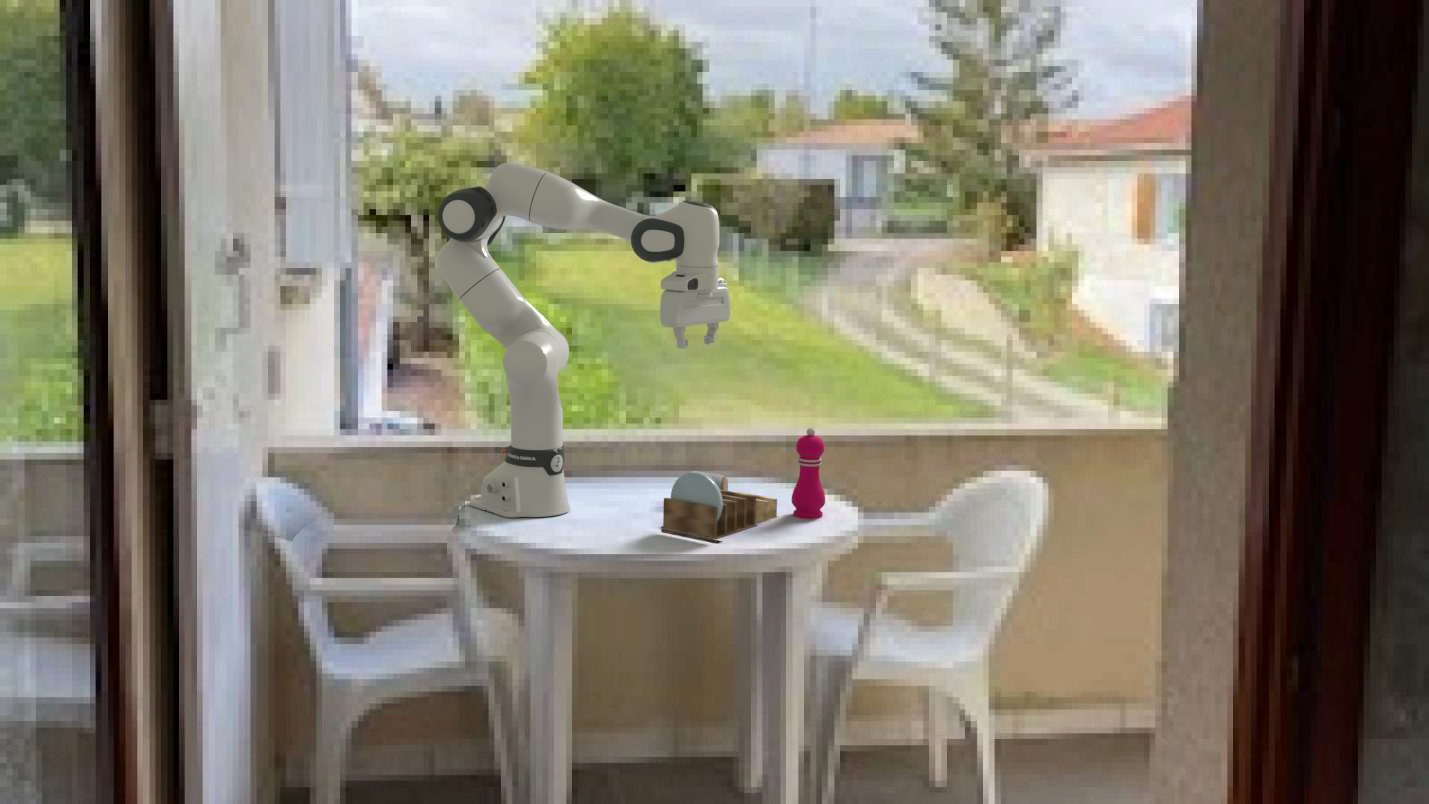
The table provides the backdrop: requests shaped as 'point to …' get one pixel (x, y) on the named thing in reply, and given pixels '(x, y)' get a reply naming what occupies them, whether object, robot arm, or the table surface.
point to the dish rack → (710, 517)
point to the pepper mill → (809, 478)
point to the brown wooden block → (765, 508)
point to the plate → (698, 490)
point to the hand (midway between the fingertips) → (695, 346)
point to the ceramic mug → (718, 480)
